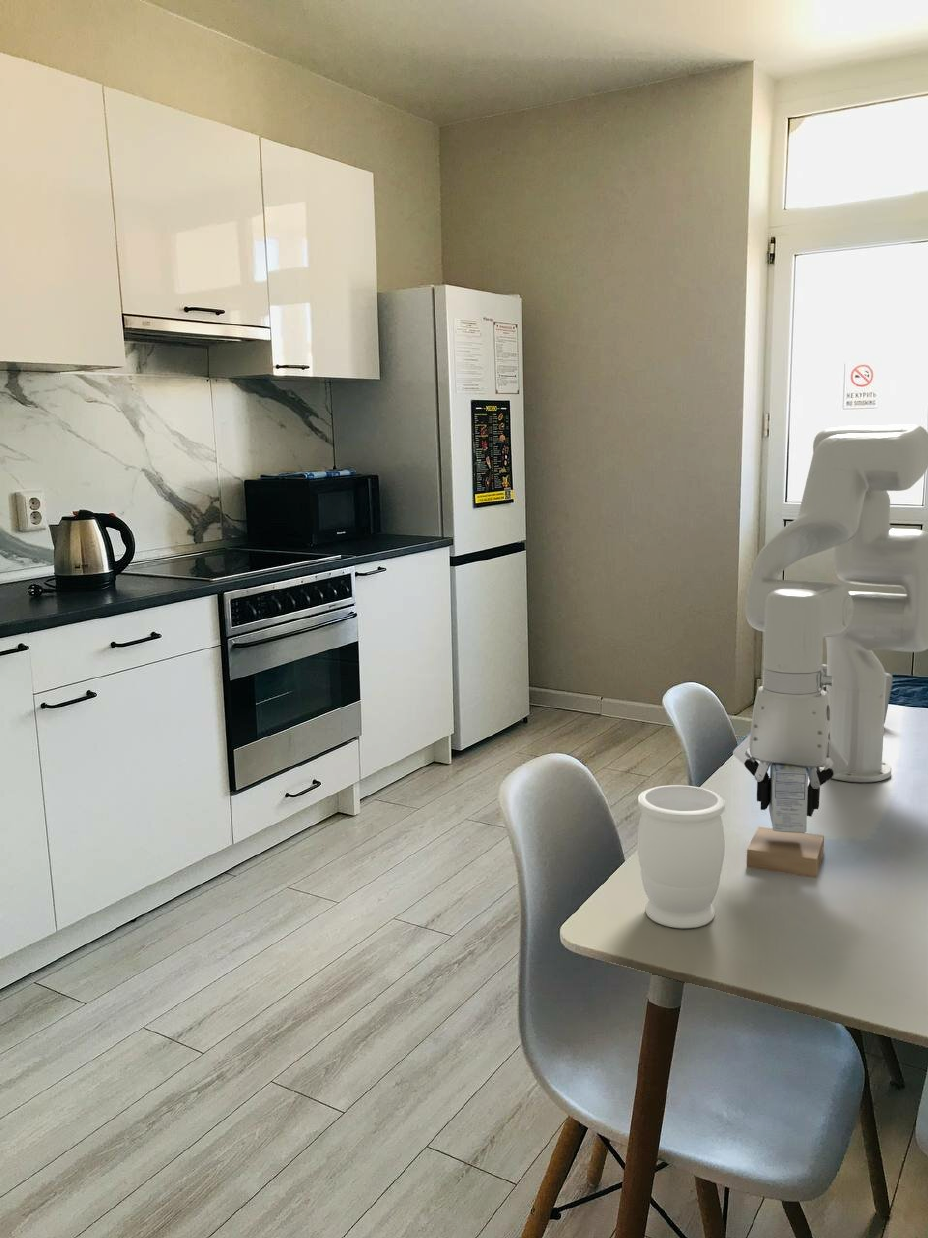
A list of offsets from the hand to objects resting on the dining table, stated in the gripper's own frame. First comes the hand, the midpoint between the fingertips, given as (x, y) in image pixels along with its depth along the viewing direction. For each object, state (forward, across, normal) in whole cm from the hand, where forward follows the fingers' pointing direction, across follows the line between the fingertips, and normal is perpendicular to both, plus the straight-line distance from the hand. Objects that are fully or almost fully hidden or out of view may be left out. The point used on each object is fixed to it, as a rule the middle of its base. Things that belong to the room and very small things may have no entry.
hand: (787, 808), depth 138 cm
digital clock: (+7, 0, -78) cm, 78 cm away
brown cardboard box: (+8, 0, 0) cm, 8 cm away
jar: (+8, +9, +22) cm, 25 cm away
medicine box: (+2, 0, 0) cm, 2 cm away
